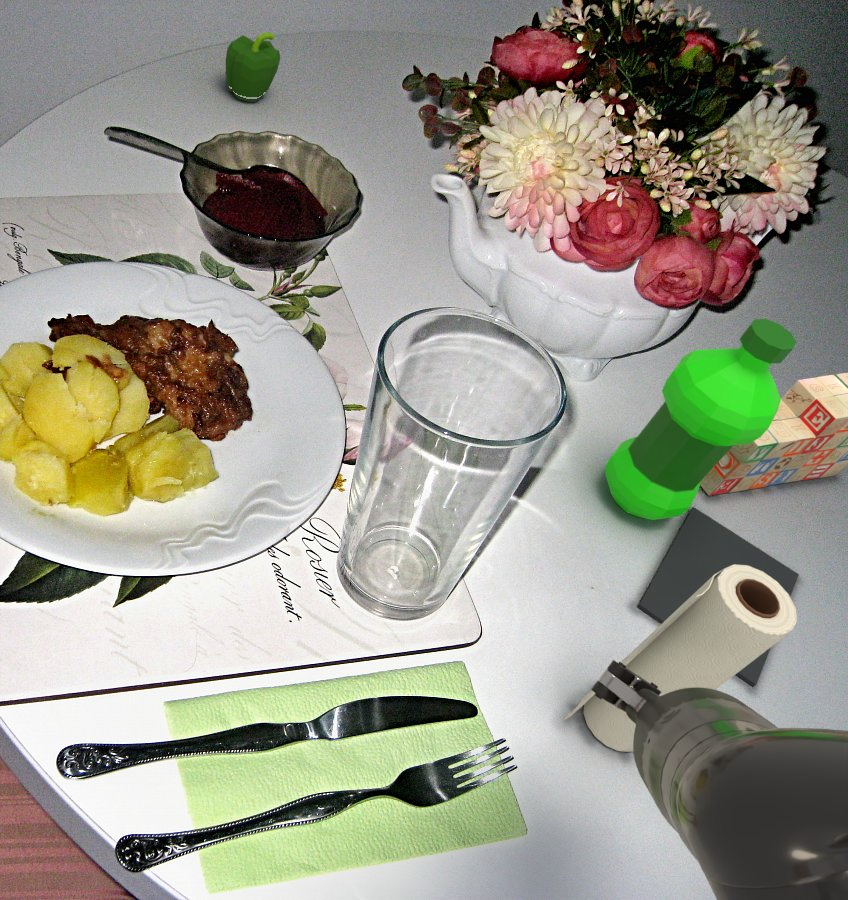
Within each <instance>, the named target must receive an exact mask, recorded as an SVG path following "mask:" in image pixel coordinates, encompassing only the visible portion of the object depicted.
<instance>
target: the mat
mask: <svg viewBox="0 0 848 900" xmlns="http://www.w3.org/2000/svg"><path fill="white" fill-rule="evenodd" d="M734 564H736V565H748V566H750V567H753V568H755V569H758V570H760V571H763V572H764V573H766V574H767V575H768V576H770V577H771V578H773V579H774V580H776V581H777V582H778V583H779V584H780V585H781V586H782V588H783V589H784V590H785V591H786V592H787V593H788V594H789V596H790V597H791V596H792V594H793V591H794V588H795V586H796V583H797V580H798V578H799V575H800V574H799V573H798V572H796V571H795V570H793V569H791V568H790V567H788V566H786V564H784V563H782V562H780V561H778V560H777V559H775V558H774V557H773V556H771V555H770V554H768V553H766V552H765V551H763V550H761V549H760V548H759V547H757V546H755V545H754V544H752V543H751V542H749V541H748V540H746V539H744V538H743V537H741V536H740V535H738V534H737V533H736V532H734V531H732V530H731V529H729V528H728V527H726V526H724V525H723V524H721V523H719V521H716V520H715V519H713V518H712V517H710V516H708V515H707V514H706V513H704V512H702V511H701V510H699V509H697V508H696V507H695V506H693V507H691V508H690V510H689V511H688V514H687V515H686V518H685V519H684V521H683V523H682V525H681V527H680V528H679V530H678V532H677V534H676V536H675V537H674V539H673V541H672V543H671V545H669V548H668V550H667V552H666V553H665V555H664V557H663V559H662V561H661V562H660V564H659V566H658V568H657V570H656V572H655V574H654V576H653V577H652V579H651V581H650V583H649V584H648V587H647V588H646V590H645V592H644V593H643V596H642V597H641V599H640V601H639V603H638V605H637V608H638V609H639V610H641V611H643V612H644V613H645V614H647V615H649V616H650V617H651V618H653V619H654V620H656V622H658V623H660V625H661V624H662V623H663V622H664V621H665V620H666V619H667V618H668V617H670V616H671V615H672V614H673V613H674V612H675V611H676V610H677V609H678V608H679V607H680V606H681V605H682V604H683V603H684V602H686V601H687V600H688V599H689V598H690V597H691V596H692V595H693V594H694V593H695V592H696V591H697V590H698V589H699V588H700V587H702V586H703V585H704V584H705V583H706V582H707V581H708V580H709V579H710V578H711V577H712V576H713V575H715V574H716V573H718V572H719V571H721V570H723V569H725V568H727V567H729V566H732V565H734ZM771 648H772V647H770V648H769V649H768V650H766V651H765V652H764V653H763V654H761V655H760V656H759V657H757V658H756V659H755V660H754V661H752V662H751V663H750V664H748V665H747V666H746V667H744V668H743V669H742V670H741V671H739V672H738V673H737V674H735V675H734V676H737V677H738V678H740V679H741V680H743V681H744V682H746V683H747V684H748V685H750V686H751V687H753V688H754V687H756V686H757V684H758V681H759V680H760V679H759V678H760V677H761V673H762V672H763V668H764V666H765V664H766V661H767V658H768V656H769V653H770V650H771Z"/></svg>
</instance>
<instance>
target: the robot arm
mask: <svg viewBox="0 0 848 900" xmlns="http://www.w3.org/2000/svg"><path fill="white" fill-rule="evenodd" d="M657 688H658V686H657V685H655V684H654V683H652V682H651V684H650V683H649V682H647V681H646V680H644V679H643V678H641V677H640V676H638V675H636V674H635V673H633V672H632V671H630V670H629V669H627V668H626V666H625V665H624V664H622V663H621V661H616V660H614V659H613V660H612V661H611V662H610V663H609V665H608V666H607V668H605V670H604V672H603V673H602V674H601V675H600V677H599V678H598V679H597V680H596V682H595V683H594V685H593V686H592V687H591V688H590V690H592V691H593V692H595V694H594V695H595V696H597V697H598V698H599V699H604V700H605V701H607V702H609V703H611V704H612V705H614V706H615V707H616V708H617V709H621V710H623V711H625V712H626V714H627V716H628V717H629V718H630V719H631V720H632V721H633V722H634V723H635V724H636V727H635V732H634V740H633V751H632V752H633V759H634V762H635V766H636V769H637V772H638V774H639V776H640V778H641V780H642V781H643V784H644V785H645V788H646V789H647V791H648V793H649V795H650V796H651V799H653V802H654V804H655V806H656V807H657V809H658V810H659V812H660V814H661V815H662V816H663V818H664V819H665V820H666V822H667V823H668V825H669V826H670V827H671V828H672V829H673V830H674V831H675V832H676V833H677V834H678V836H679V838H680V840H681V841H682V842H683V844H684V846H685V847H686V848H687V850H688V852H689V853H690V854H691V856H692V857H693V858H694V859H695V860H696V861H697V863H698V865H699V867H700V869H701V870H702V872H703V874H704V876H705V878H706V880H707V882H708V884H709V886H710V888H711V890H712V893H713V895H714V897H715V898H716V900H848V730H844V729H843V730H841V729H831V728H830V729H829V728H815V727H814V728H811V727H809V728H808V727H807V728H806V727H778V726H777V725H776V724H774V723H772V722H771V721H770V720H768V719H767V718H765V717H764V716H763V715H762V714H760V713H758V712H757V711H756V710H754V709H753V708H751V707H750V706H748V705H747V704H746V703H744V702H743V701H741V700H740V699H738V698H736V697H734V696H733V695H730V694H728V693H726V692H724V691H720V690H717V689H716V690H714V689H709V688H699V687H694V688H684V689H679V690H675V691H672V692H669V693H667V694H664V695H662V696H659V695H660V694H661V691H660V690H659V689H657Z"/></svg>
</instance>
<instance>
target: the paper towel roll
mask: <svg viewBox="0 0 848 900" xmlns="http://www.w3.org/2000/svg"><path fill="white" fill-rule="evenodd" d="M797 618H798V617H797V607H796V606H795V604H794V602H793V600H792V598H791V596H789V594H788V593H787V592H786V591H785V590H784V589H783V588H782V586H781V585H780V584H779V583H778V582H777V581H776V580H774V579H773V578H771V577H770V576H768V575H767V574H766V573H764V572H763V571H760V570H758V569H755V568H753V567H750V566H748V565H736V564H734V565H732V566H729V567H727V568H725V569H723V570H721V571H719V572H718V573H716V574H715V575H713V576H712V577H711V578H710V579H709V580H708V581H707V582H706V583H705V584H704V585H703V586H702V587H700V588H699V589H698V590H697V591H696V592H695V593H694V594H693V595H692V596H691V597H690V598H689V599H688V600H687V601H686V602H684V603H683V604H682V605H681V606H680V607H679V608H678V609H677V610H676V611H675V612H674V613H673V614H672V615H671V616H670V617H668V618H667V619H666V620H665V621H664V622H663V623H662V624H661V623H660V625H659V626H658V627H657V628H655V629H654V630H653V631H652V632H651V633H650V634H649V635H648V636H647V637H646V638H645V639H644V640H643V641H641V643H639V644H638V645H637V647H635V648H634V649H633V650H632V651H631V652H630V653H629V654H628V655H627V656H626V657H624V659H622V660H621V661H620V662H621V663H622V664H624V665H625V666H626V668H627V669H629V670H630V671H632V672H633V673H635V674H636V675H638V676H640V677H641V678H643V679H644V680H646V681H647V682H649V683H650V684H651V682H652V683H654V684H655V685H657V686H658V688H657V689H659V690H660V691H661V694H660V695H659V696H662V695H664V694H667V693H669V692H672V691H675V690H679V689H684V688H694V687H699V688H709V689H714V690H717V689H719V688H720V687H721V686H722V685H724V684H725V683H726V682H728V681H729V680H730V679H732V678H733V677H734V676H736V675H735V674H737V673H738V672H739V671H741V670H742V669H743V668H744V667H746V666H747V665H748V664H750V663H751V662H752V661H754V660H755V659H756V658H757V657H759V656H760V655H761V654H763V653H764V652H765V651H766V650H768V649H769V648H770V647H771V648H772V647H773V646H775V644H777V643H779V642H780V641H781V640H782V639H783V638H785V637H786V636H787V635H788V634H790V633H791V632H792V631H793V629H794V628H795V625H796V623H797V621H798V619H797ZM771 648H770V649H771ZM594 694H595V692H593V691H592V690H591V689H590V690H589V691H588V692H587V693H586V694H585V695H584V696H583V697H582V698H581V699H580V700H579V702H578V704H577V706H576V707H575V708H574V709H572V711H570V712H569V713H568V714H567V715H566V716H565V717H564V718H563V719H562V720H563V721H565V720H568V719H570V718H571V717H572V716H573V715H575V714H576V713H577V711H579V709H581V708H582V707H583V716H584V719H585V722H586V726H587V727H588V728H589V730H590V731H591V733H592V734H593V736H594V738H596V739H597V740H599V741H600V742H601V743H602V744H603V745H605V746H606V747H608V748H610V749H613V750H615V751H617V752H628V753H629V752H631V753H632V752H634V751H633V740H634V732H635V727H636V724H635V723H634V722H633V721H632V720H631V719H630V718H629V717H628V716H627V714H626V712H625V711H623V710H621V709H617V708H616V707H615V706H614V705H612V704H611V703H609V702H607V701H605V700H604V699H599V698H598V697H597V696H595V695H594Z"/></svg>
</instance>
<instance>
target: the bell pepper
mask: <svg viewBox="0 0 848 900" xmlns="http://www.w3.org/2000/svg"><path fill="white" fill-rule="evenodd" d="M274 39H275V34H274V33H272V32H262V33H261V34H259V35H258V36H257V37H256V38H255V40H252V39H251V38H249V37H248V36H246V35H243V34H242V35H241V36H239V37H238V38H236V39H235V40H232V41H231V42H230V43H229V45H228V47H227V49H226V55H225V80H226V81H225V82H226V85H228V86H230V87H232V89H230V88H228V91H229V92H231V93H233V95H234V97H236V98H237V100H240V101H244V102H249V103H255V102H257V101H259V100H260V99H261V98H262V97H264V96H265V95H263V93H264V92H266V93H268V91H269V89H270V87H271V85H272V83H273V81H274V79H275V76H276V74H277V72H278V69H279V65H280V62H281V54H280V50H279V49H276V48H275V47H274V45H273V43H272V42H271V41H273V40H274ZM228 86H227V87H228ZM267 90H268V91H267ZM233 91H234V92H235V93H237V94H238V95H242V96H246V97H259V96H261V95H262V96H261V97H260V98H257V99H246V98H243V97H240V96H238V95H236V94H235V93H234V92H233Z"/></svg>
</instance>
